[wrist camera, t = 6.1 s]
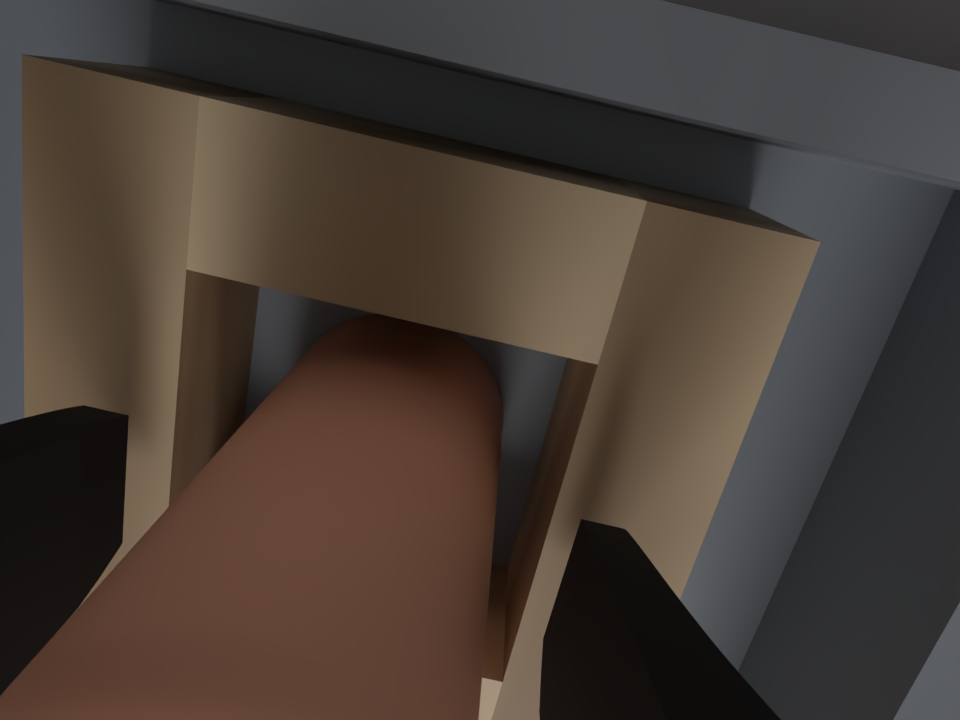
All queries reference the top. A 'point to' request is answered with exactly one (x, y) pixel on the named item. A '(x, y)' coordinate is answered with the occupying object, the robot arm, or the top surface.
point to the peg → (307, 555)
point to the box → (531, 289)
